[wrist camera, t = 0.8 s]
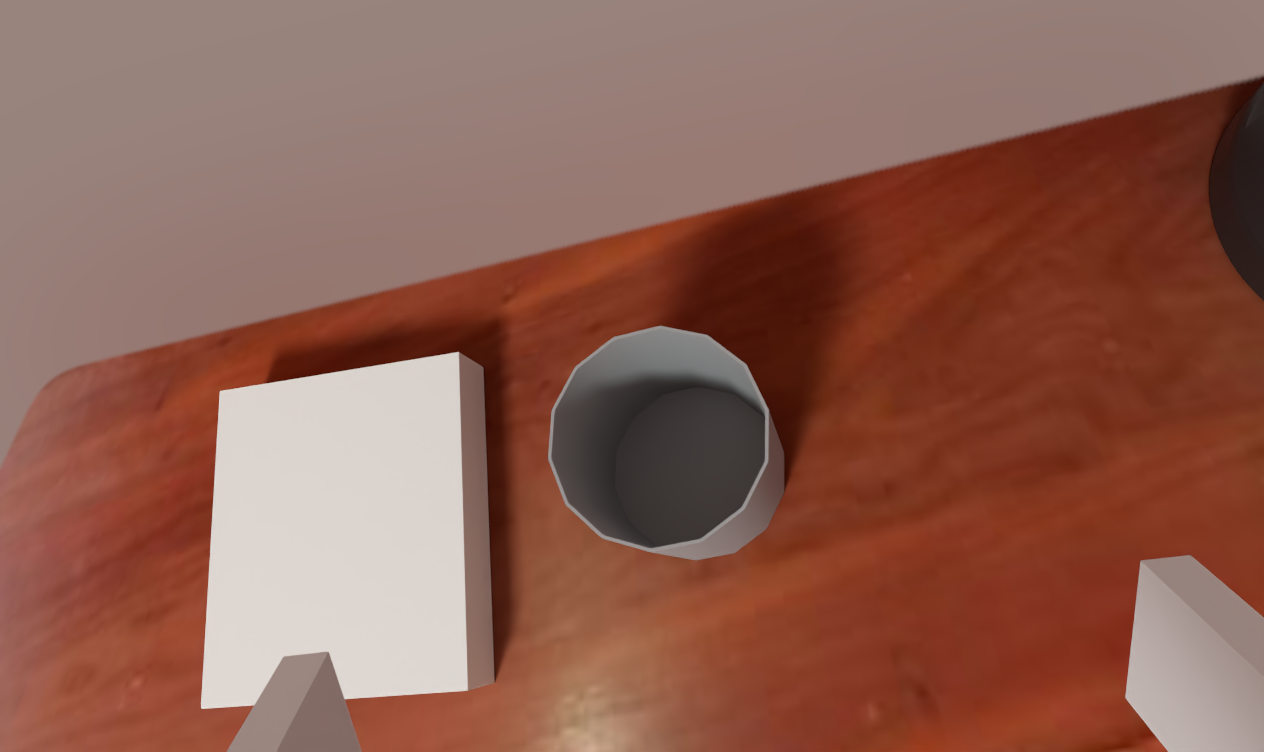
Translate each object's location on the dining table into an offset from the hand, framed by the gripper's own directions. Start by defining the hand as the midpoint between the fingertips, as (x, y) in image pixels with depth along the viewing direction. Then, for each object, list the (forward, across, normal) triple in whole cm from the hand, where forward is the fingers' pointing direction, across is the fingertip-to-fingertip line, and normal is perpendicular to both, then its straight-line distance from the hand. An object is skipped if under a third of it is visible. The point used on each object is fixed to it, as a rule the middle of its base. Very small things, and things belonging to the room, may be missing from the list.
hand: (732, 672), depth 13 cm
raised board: (+26, -17, -11) cm, 33 cm away
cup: (+24, 0, -9) cm, 26 cm away
